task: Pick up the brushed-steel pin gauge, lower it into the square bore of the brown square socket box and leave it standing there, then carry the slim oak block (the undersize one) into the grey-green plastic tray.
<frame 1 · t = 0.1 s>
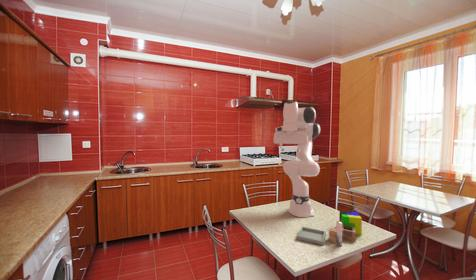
hand: (290, 151, 125), 48 cm above the table, fingers open, 8 cm apart
brown square socket box: (347, 237, 118), on the table
puzzle toy: (349, 230, 127), on the table
pin gauge: (339, 245, 110), on the table
tray: (311, 237, 118), on the table
oak block: (333, 240, 115), on the table
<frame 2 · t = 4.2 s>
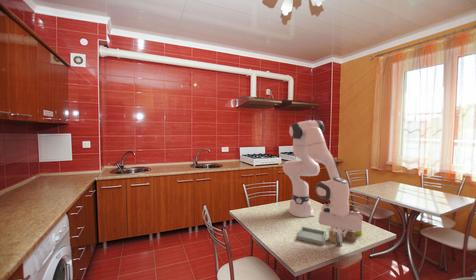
hand: (339, 235, 110), 5 cm above the table, fingers closed on pin gauge, 3 cm apart
pin gauge: (339, 245, 110), on the table, touching gripper
everything else where it was.
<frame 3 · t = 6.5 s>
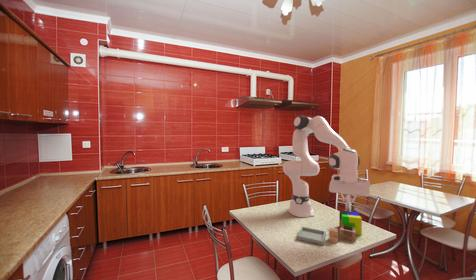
hand: (348, 201, 118), 20 cm above the table, fingers closed on pin gauge, 3 cm apart
pin gauge: (348, 211, 118), point 15 cm above the table, touching gripper
everything else where it was.
when the fingers open (8 cm above the table, at t = 8.8 s): pin gauge drops 2 cm, resting in brown square socket box.
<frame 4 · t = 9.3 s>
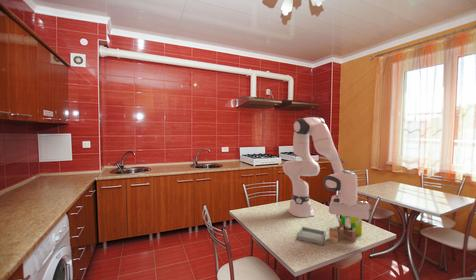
hand: (348, 223, 118), 8 cm above the table, fingers open, 7 cm apart
pin gauge: (347, 237, 118), resting in brown square socket box
everything else where it was.
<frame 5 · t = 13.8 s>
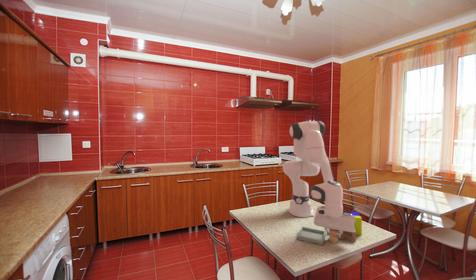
hand: (333, 236, 115), 2 cm above the table, fingers closed on oak block, 4 cm apart
oak block: (333, 240, 115), on the table, touching gripper
everything else where it was.
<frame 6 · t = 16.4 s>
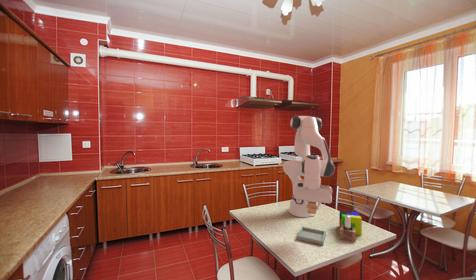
hand: (312, 208, 118), 16 cm above the table, fingers closed on oak block, 4 cm apart
oak block: (311, 212, 118), point 14 cm above the table, touching gripper
everything else where it was.
when the fingers open (5 cm above the table, at t = 18.8 s): oak block drops 2 cm, resting on tray.
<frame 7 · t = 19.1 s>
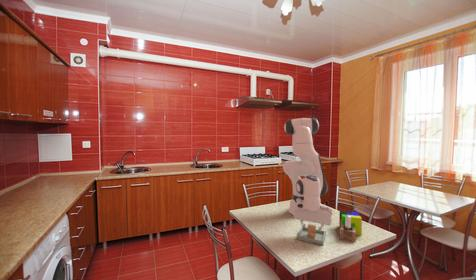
hand: (311, 229, 118), 5 cm above the table, fingers open, 7 cm apart
oak block: (311, 236, 118), point 1 cm above the table, touching tray
everything else where it was.
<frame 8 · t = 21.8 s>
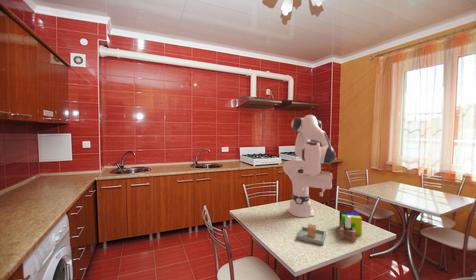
hand: (312, 194, 117), 24 cm above the table, fingers open, 8 cm apart
nothing on the table moved.
at the end: oak block inside the target area on the tray (0.1 cm from its centre), point 0.6 cm above the tray's base; pin gauge 0.2 cm off-centre on the brown square socket box, point 0.0 cm above the brown square socket box's base; pin gauge tilted 1° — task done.
